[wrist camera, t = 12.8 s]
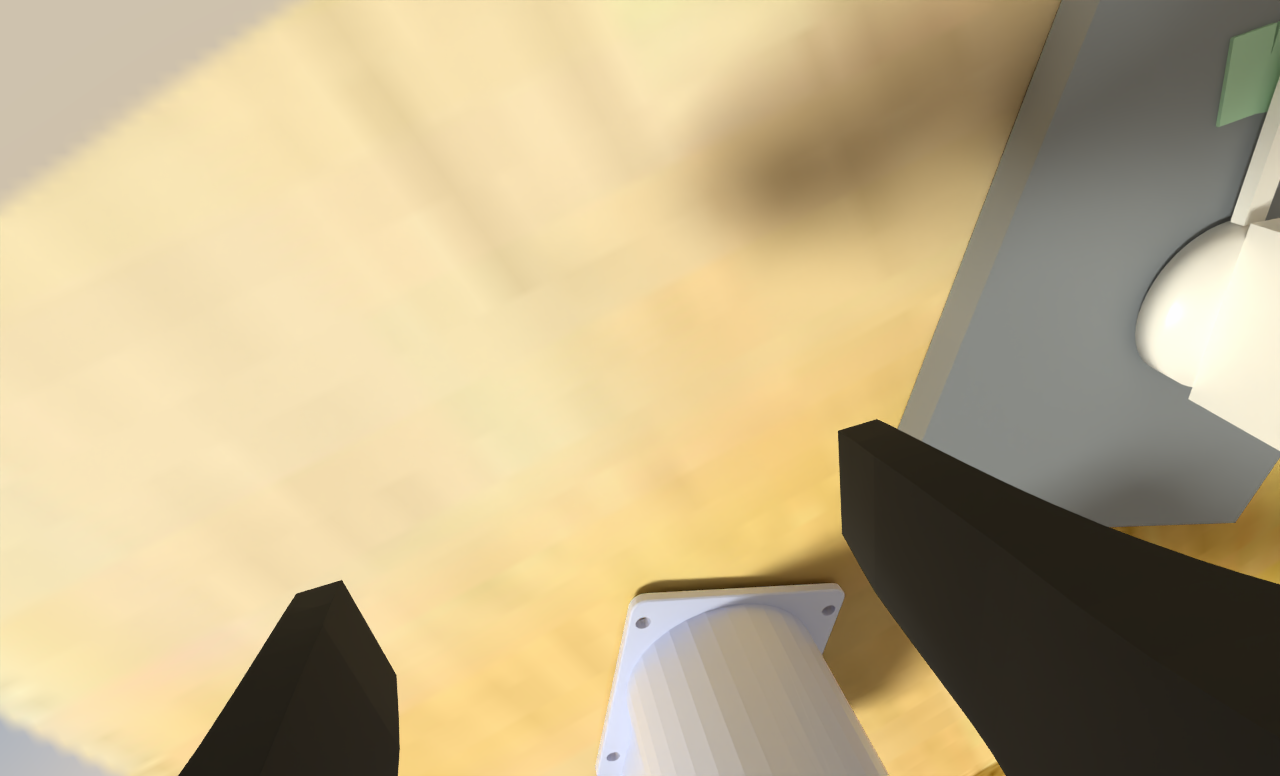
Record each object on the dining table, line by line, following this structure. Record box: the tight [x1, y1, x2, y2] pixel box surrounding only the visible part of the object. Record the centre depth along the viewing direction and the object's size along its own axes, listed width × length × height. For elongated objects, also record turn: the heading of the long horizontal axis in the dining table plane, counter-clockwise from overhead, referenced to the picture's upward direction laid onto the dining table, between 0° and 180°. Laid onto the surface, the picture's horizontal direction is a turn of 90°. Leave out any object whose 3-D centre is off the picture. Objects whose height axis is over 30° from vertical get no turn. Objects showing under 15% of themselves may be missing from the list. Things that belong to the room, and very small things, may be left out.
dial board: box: [898, 0, 1280, 527], centre depth 22 cm, size 18×16×1 cm
